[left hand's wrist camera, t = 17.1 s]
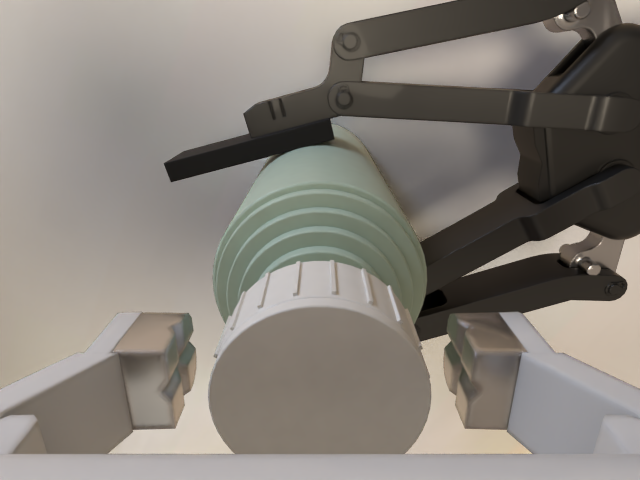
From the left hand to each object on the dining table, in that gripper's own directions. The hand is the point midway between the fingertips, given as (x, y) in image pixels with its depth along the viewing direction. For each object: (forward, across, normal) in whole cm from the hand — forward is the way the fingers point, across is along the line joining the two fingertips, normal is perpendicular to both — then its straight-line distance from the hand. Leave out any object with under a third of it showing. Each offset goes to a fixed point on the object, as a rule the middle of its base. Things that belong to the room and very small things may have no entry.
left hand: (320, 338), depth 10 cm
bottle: (+16, 0, 0) cm, 16 cm away
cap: (-2, 0, 0) cm, 2 cm away
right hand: (+10, -5, -1) cm, 11 cm away
